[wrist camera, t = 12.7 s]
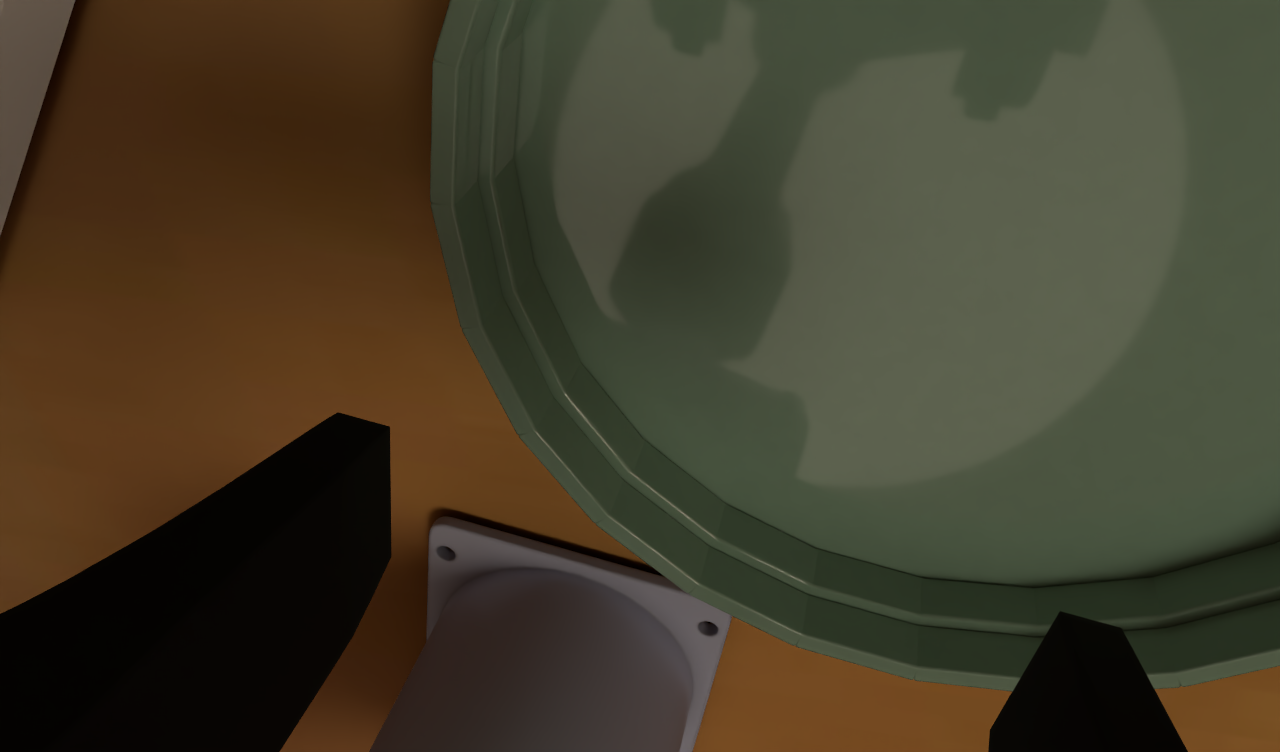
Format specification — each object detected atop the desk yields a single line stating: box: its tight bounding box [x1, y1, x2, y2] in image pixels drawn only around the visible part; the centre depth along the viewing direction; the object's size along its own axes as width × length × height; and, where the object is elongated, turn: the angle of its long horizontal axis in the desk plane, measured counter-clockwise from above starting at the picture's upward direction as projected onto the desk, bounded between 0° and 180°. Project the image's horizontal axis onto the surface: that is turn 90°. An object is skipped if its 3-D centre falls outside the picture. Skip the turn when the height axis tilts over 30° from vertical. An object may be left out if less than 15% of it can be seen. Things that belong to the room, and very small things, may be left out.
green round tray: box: [430, 0, 1280, 691], centre depth 17 cm, size 19×19×4 cm
